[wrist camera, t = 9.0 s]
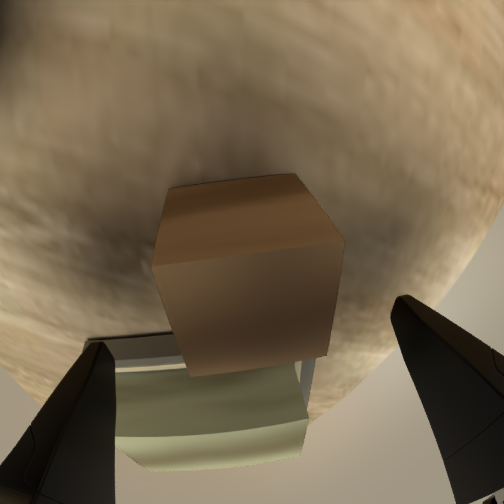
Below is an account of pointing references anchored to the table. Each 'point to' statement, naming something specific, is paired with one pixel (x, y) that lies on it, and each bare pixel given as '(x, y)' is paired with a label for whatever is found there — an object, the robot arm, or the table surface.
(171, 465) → the sage block
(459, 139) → the table surface
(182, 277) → the walnut cube
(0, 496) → the robot arm
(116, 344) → the plinth
